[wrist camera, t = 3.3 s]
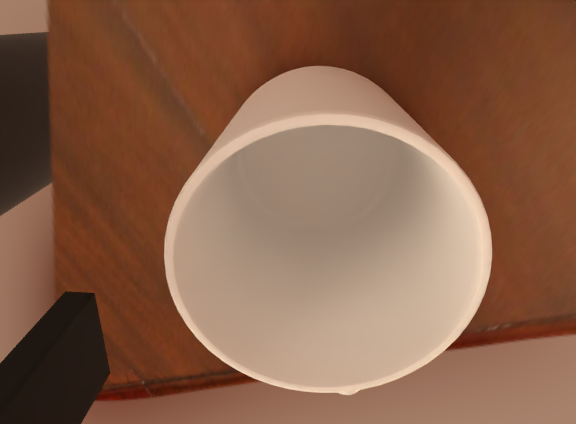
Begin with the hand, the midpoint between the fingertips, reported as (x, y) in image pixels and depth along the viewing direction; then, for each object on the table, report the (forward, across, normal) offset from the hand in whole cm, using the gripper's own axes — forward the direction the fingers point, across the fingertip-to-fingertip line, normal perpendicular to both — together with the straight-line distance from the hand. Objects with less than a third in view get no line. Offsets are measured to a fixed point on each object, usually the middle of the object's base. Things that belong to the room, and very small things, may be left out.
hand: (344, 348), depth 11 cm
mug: (+11, 0, 0) cm, 11 cm away
